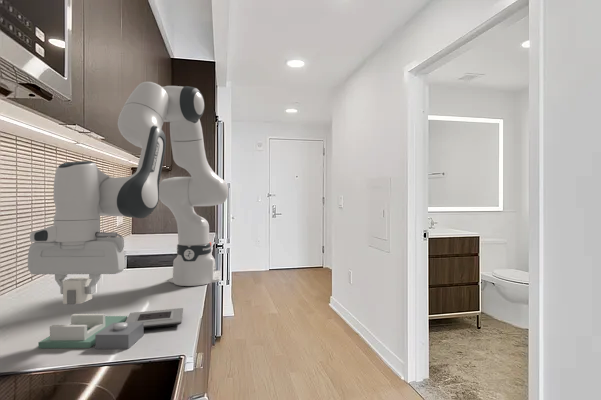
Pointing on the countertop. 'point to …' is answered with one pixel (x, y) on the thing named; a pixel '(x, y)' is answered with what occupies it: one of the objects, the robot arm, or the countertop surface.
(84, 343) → the board
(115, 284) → the countertop surface
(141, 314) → the electrical outlet
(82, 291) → the plug
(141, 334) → the grey push button
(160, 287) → the countertop surface
